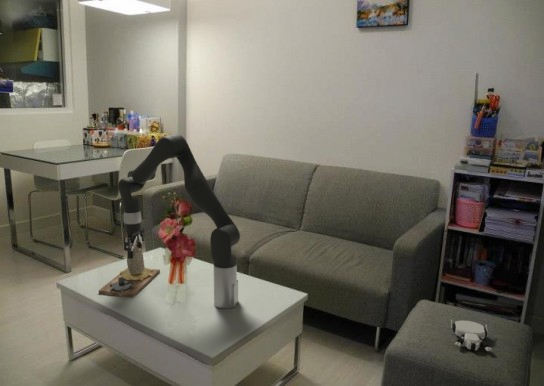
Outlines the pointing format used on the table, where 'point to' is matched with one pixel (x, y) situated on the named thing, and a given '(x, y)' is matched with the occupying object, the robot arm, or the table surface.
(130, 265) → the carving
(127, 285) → the gear board
